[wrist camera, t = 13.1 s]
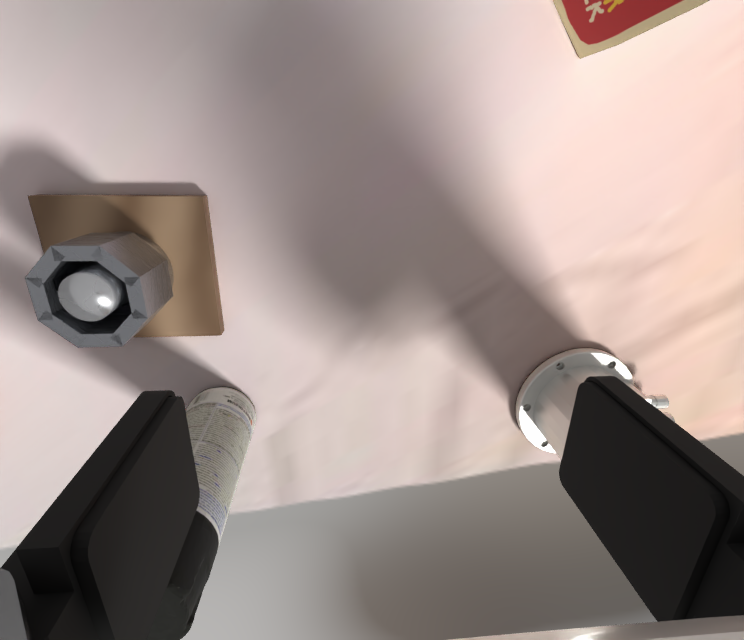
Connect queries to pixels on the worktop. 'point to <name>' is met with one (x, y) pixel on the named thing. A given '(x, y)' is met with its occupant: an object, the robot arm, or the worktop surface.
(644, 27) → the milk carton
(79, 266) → the octagonal pot
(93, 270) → the grey rounded fixture
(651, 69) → the worktop surface
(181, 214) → the base plate
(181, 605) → the spray can
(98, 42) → the worktop surface
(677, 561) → the robot arm
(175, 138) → the worktop surface
